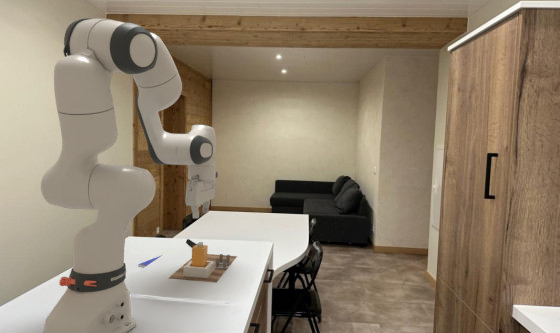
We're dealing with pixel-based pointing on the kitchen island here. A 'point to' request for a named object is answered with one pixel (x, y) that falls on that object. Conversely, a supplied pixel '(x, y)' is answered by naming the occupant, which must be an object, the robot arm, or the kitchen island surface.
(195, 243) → the electric trimmer
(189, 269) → the end holder
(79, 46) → the robot arm
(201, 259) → the connector plug
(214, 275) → the board
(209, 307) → the kitchen island surface
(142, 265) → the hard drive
